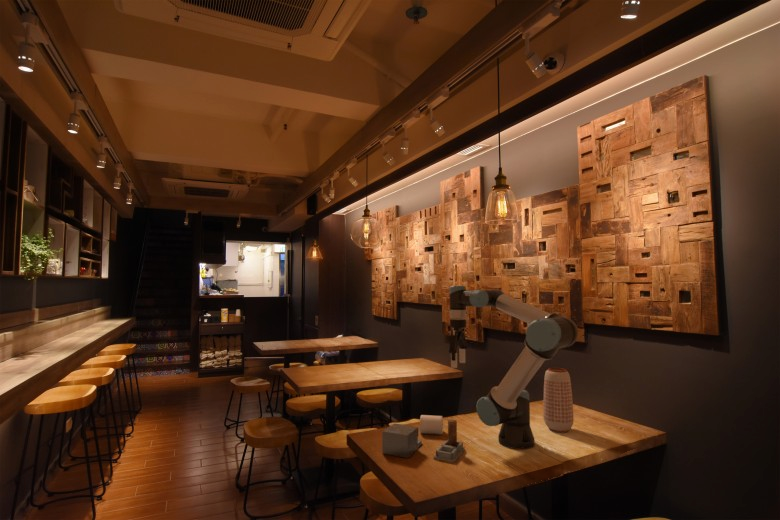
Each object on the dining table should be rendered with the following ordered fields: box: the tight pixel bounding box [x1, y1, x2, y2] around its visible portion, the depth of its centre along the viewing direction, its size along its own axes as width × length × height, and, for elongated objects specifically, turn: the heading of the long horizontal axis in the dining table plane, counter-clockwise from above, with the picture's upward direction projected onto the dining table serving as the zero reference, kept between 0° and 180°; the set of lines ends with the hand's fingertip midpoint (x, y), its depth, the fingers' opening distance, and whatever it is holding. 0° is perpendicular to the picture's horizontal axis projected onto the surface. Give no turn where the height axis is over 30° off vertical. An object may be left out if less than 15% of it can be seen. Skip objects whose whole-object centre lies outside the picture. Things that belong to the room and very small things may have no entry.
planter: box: [543, 367, 575, 433], centre depth 202 cm, size 13×13×28 cm
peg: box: [447, 419, 458, 447], centre depth 175 cm, size 4×4×11 cm
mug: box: [419, 414, 444, 436], centre depth 198 cm, size 12×10×8 cm
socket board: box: [433, 439, 465, 464], centre depth 171 cm, size 8×15×3 cm, turn 154°
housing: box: [381, 422, 419, 459], centre depth 174 cm, size 11×11×9 cm
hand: (458, 365), depth 195 cm, fingers open, 13 cm apart
